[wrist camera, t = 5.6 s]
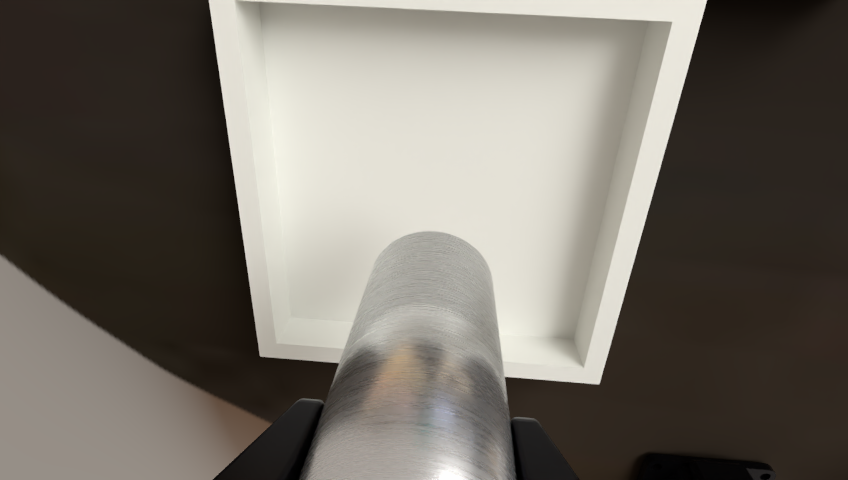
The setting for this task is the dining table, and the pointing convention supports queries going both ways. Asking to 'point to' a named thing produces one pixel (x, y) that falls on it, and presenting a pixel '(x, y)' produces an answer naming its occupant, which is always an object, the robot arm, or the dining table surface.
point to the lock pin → (419, 373)
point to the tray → (450, 156)
